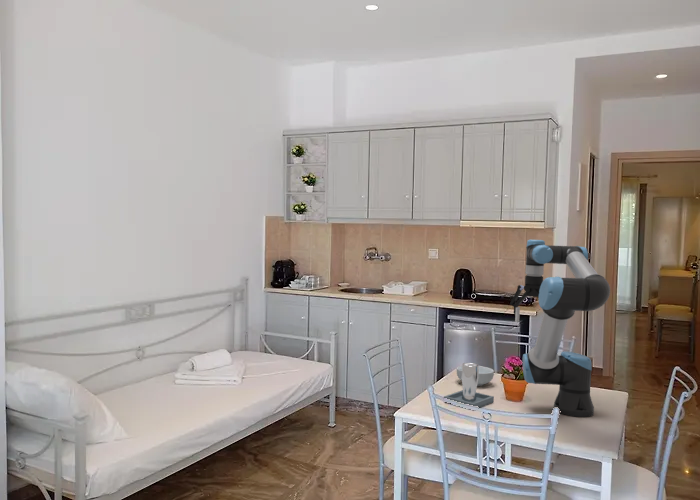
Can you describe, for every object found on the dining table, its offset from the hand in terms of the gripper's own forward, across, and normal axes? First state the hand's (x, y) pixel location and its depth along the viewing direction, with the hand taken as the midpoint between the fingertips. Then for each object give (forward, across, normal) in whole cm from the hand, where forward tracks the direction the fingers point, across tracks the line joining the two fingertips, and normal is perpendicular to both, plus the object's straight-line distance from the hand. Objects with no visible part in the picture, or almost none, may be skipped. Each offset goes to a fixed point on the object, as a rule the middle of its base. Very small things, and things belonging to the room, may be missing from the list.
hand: (531, 324), depth 265 cm
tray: (+31, +13, +30) cm, 45 cm away
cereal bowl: (+31, +26, +1) cm, 41 cm away
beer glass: (+31, +13, +29) cm, 45 cm away
